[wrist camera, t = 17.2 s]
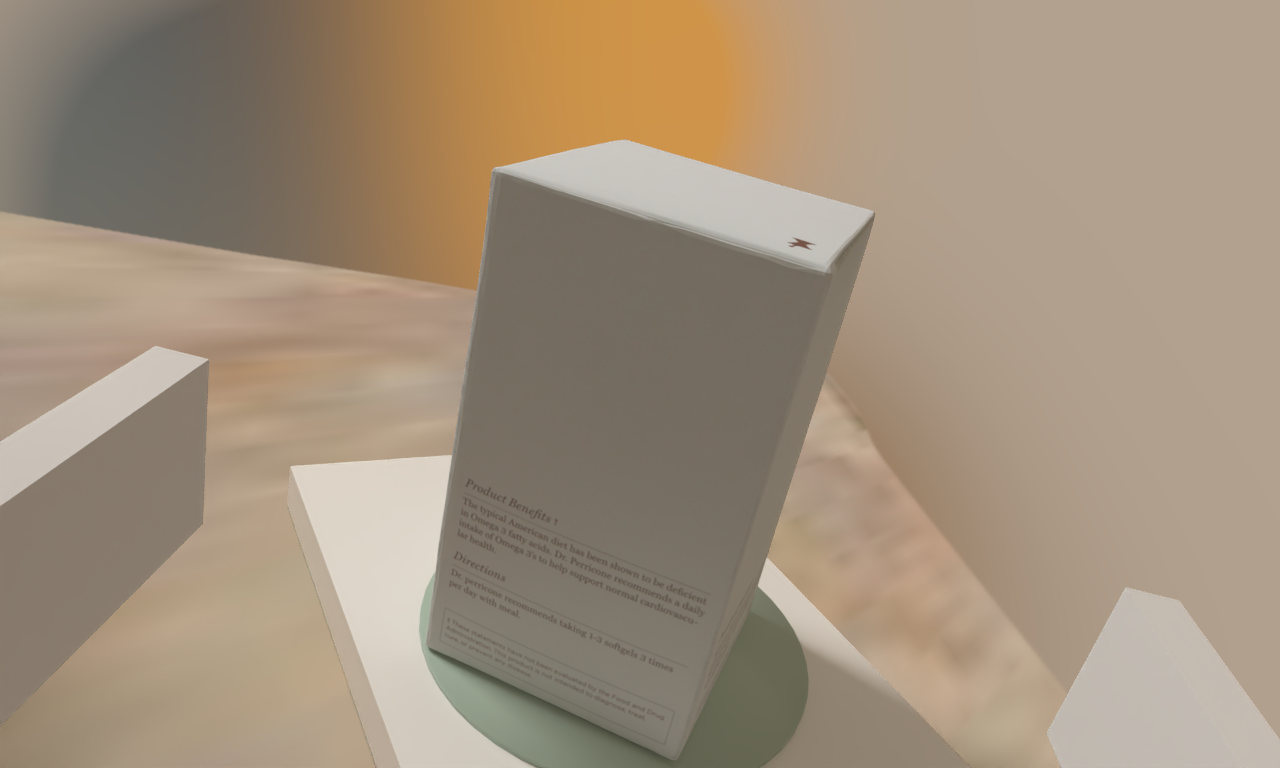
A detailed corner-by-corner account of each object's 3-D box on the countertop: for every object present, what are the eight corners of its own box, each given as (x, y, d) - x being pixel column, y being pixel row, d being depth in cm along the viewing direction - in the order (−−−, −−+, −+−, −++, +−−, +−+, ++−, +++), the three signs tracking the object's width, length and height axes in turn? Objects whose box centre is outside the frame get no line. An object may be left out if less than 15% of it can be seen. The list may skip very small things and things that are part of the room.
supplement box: (755, 610, 28) (890, 210, 23) (675, 774, 22) (839, 269, 17) (543, 519, 30) (625, 132, 25) (410, 645, 24) (486, 156, 19)
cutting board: (287, 504, 31) (290, 460, 30) (645, 472, 38) (655, 436, 37) (511, 1161, 16) (528, 1103, 15) (1034, 898, 23) (1061, 851, 22)
